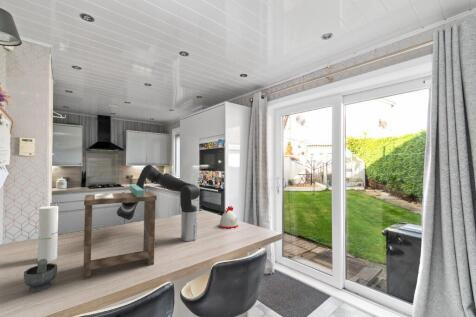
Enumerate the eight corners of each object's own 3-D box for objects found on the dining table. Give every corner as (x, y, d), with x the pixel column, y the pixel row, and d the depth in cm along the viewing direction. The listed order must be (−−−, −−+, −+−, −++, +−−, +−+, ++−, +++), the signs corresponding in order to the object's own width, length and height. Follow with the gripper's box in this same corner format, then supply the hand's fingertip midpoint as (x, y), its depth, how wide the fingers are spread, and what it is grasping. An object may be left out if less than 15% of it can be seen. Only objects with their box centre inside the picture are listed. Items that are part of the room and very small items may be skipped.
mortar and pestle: (22, 286, 86) (23, 254, 86) (54, 278, 92) (55, 248, 92) (24, 300, 78) (25, 265, 78) (58, 289, 84) (59, 257, 85)
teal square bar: (135, 190, 125) (135, 184, 125) (144, 196, 103) (144, 190, 103) (129, 190, 123) (129, 184, 123) (136, 197, 101) (137, 190, 101)
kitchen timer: (241, 226, 171) (242, 206, 171) (228, 230, 161) (229, 209, 161) (228, 222, 180) (229, 203, 180) (215, 226, 170) (216, 206, 170)
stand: (148, 252, 119) (149, 190, 119) (155, 265, 105) (156, 195, 106) (83, 265, 104) (85, 194, 105) (82, 280, 91) (84, 199, 91)
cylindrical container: (60, 257, 112) (62, 206, 112) (44, 263, 105) (45, 209, 105) (50, 255, 114) (52, 205, 114) (34, 261, 107) (35, 207, 108)
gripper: (115, 198, 136) (117, 187, 124) (140, 197, 144) (145, 186, 132) (115, 210, 133) (117, 200, 121) (141, 208, 140) (146, 198, 128)
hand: (131, 193), depth 126 cm, fingers open, 8 cm apart
